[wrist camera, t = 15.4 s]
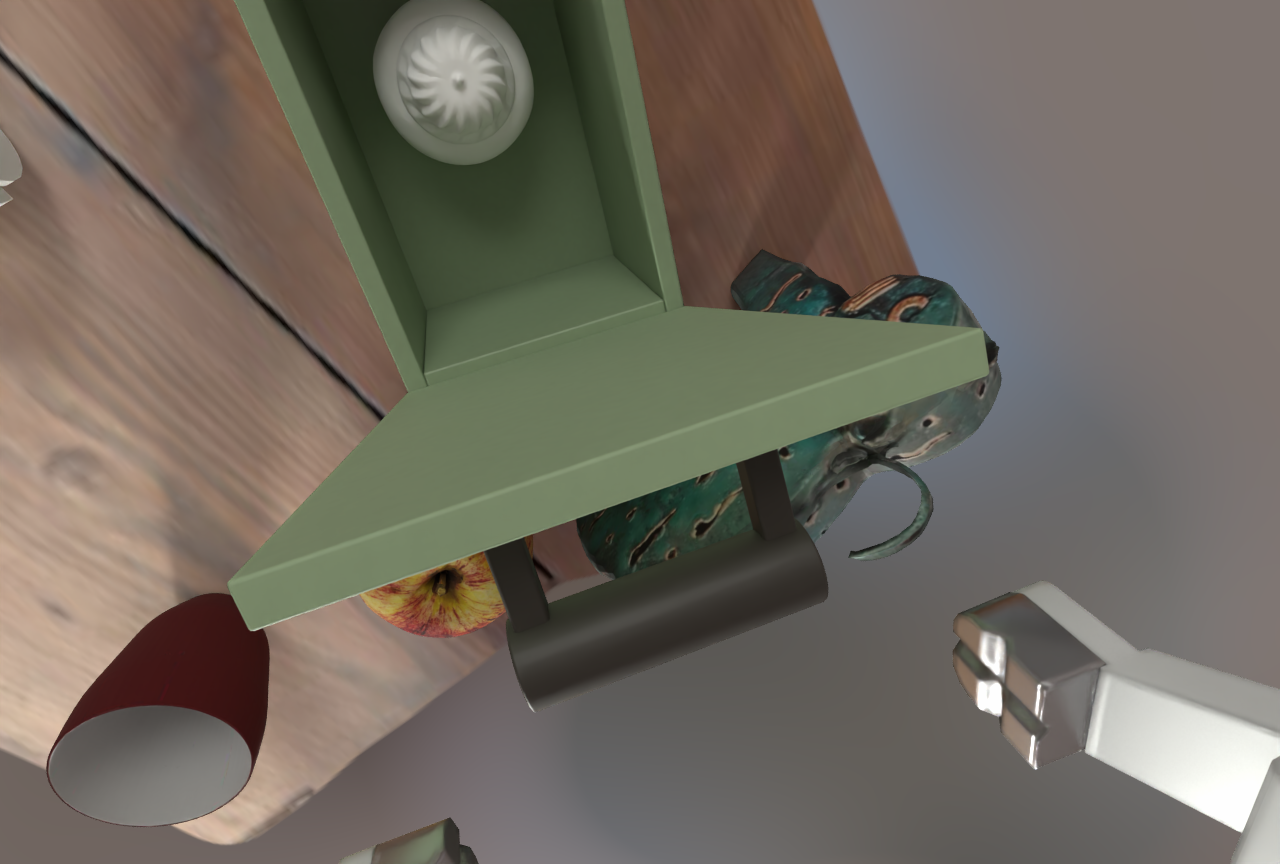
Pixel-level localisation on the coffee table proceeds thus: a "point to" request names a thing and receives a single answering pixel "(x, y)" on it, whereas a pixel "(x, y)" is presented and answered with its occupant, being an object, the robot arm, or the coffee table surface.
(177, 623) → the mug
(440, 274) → the chest
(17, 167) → the white elongated piece
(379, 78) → the muffin
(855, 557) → the ceramic cat
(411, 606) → the apple
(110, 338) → the coffee table surface
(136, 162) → the coffee table surface
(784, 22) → the coffee table surface
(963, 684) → the robot arm
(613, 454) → the lid
